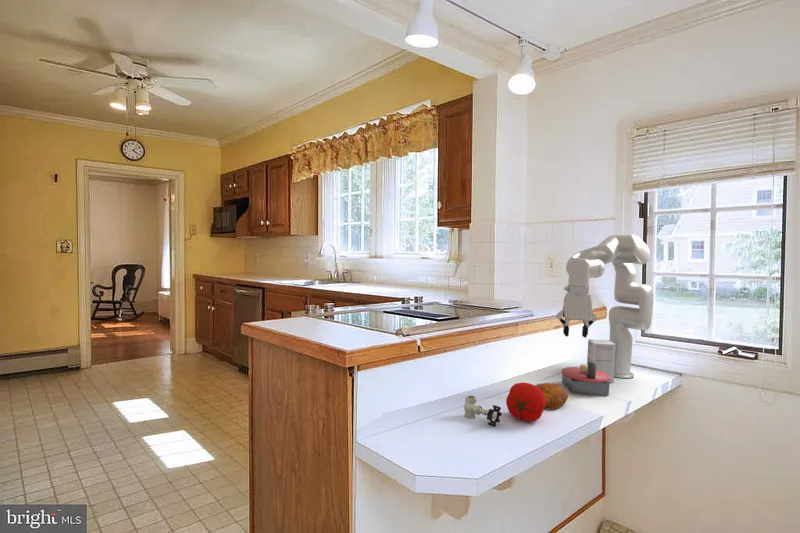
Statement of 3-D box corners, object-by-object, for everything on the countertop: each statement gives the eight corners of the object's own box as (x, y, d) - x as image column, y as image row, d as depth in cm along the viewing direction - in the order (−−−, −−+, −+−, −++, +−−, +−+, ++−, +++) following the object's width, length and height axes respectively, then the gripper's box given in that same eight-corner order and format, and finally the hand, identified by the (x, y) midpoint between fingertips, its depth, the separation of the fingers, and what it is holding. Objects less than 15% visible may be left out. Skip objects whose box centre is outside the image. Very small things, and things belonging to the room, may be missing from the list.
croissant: (571, 408, 165) (574, 387, 166) (556, 413, 153) (560, 390, 154) (534, 398, 174) (537, 377, 175) (517, 401, 162) (520, 379, 163)
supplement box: (607, 377, 202) (610, 340, 202) (614, 383, 193) (616, 344, 193) (585, 375, 204) (587, 338, 203) (591, 381, 195) (593, 342, 194)
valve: (458, 417, 146) (488, 429, 137) (459, 397, 146) (489, 408, 137) (471, 412, 150) (501, 424, 141) (472, 393, 150) (502, 403, 141)
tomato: (525, 420, 154) (512, 433, 143) (507, 385, 157) (492, 396, 146) (558, 407, 148) (547, 420, 137) (538, 371, 151) (526, 381, 140)
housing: (561, 382, 190) (562, 371, 190) (595, 385, 189) (596, 373, 189) (571, 393, 176) (572, 380, 176) (608, 395, 175) (609, 383, 175)
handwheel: (556, 368, 192) (557, 351, 192) (599, 371, 191) (600, 354, 190) (568, 380, 174) (569, 362, 174) (616, 384, 173) (618, 365, 172)
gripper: (557, 290, 171) (555, 337, 172) (604, 292, 170) (601, 339, 171) (552, 288, 179) (550, 333, 180) (597, 290, 178) (594, 336, 178)
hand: (575, 336), depth 175 cm, fingers open, 6 cm apart
